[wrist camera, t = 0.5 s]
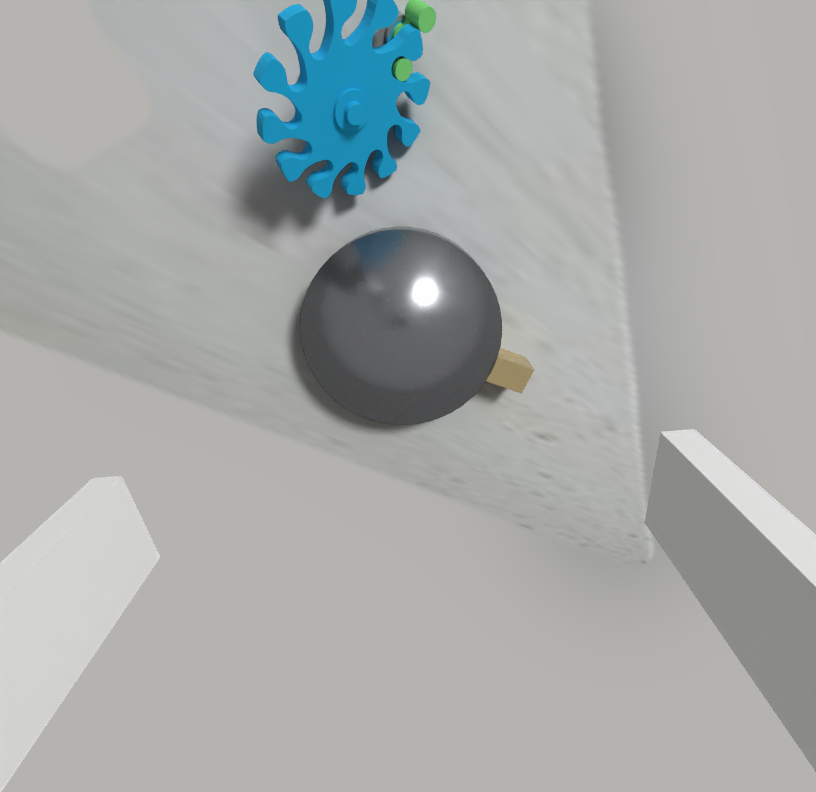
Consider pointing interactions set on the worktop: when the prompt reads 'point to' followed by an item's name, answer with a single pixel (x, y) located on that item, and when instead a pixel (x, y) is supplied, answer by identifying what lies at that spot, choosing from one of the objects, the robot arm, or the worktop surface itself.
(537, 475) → the worktop surface
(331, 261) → the dark grey frying pan
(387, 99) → the gear
